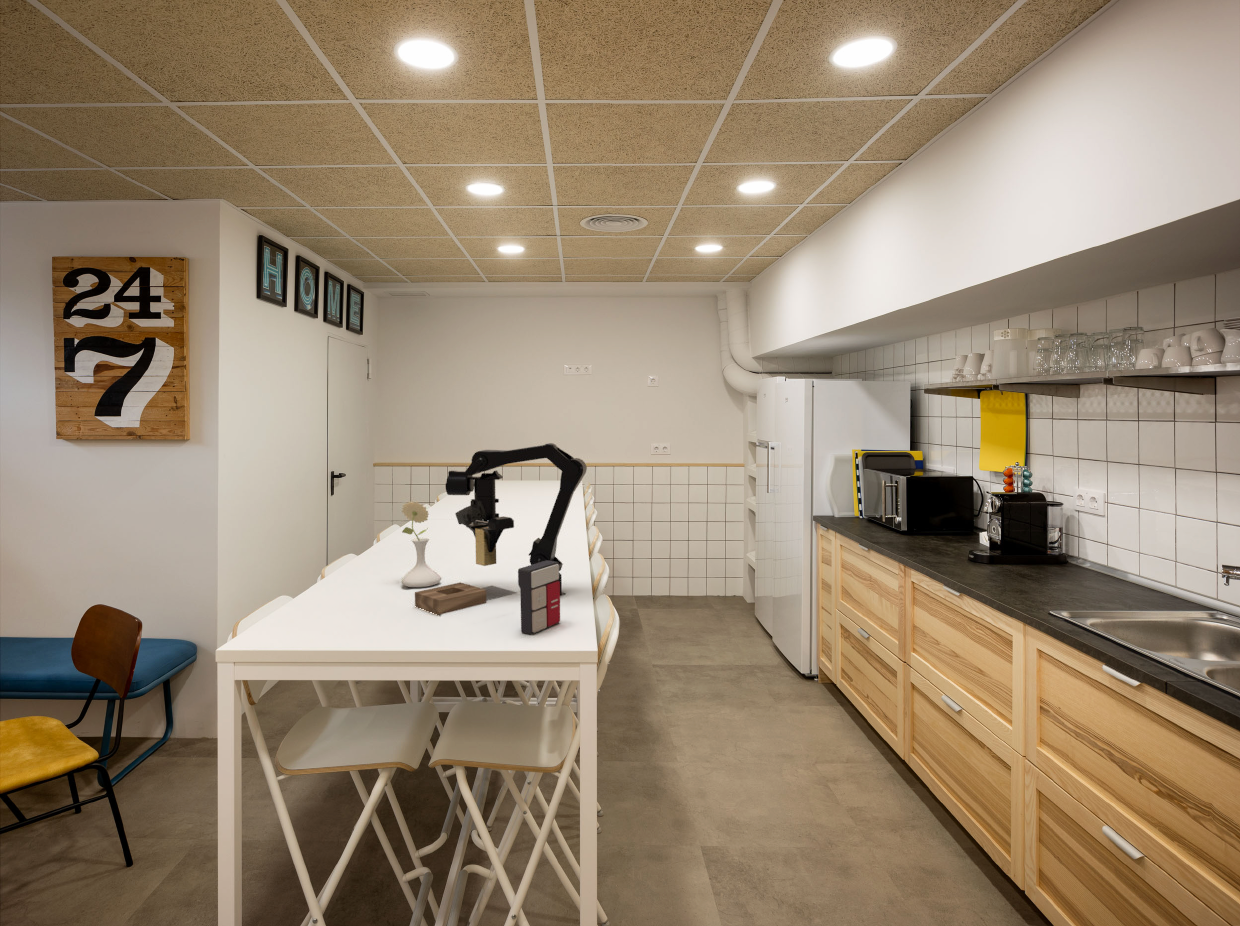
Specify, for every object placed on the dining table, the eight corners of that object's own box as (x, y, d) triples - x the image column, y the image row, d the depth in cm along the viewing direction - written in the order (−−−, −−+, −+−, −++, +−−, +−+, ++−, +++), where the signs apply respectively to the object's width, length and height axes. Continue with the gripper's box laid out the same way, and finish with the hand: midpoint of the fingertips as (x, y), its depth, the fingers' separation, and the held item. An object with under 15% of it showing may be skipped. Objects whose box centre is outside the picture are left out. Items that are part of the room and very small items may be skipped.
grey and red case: (533, 635, 156) (532, 570, 155) (518, 632, 158) (517, 568, 157) (562, 623, 165) (561, 561, 164) (548, 620, 168) (547, 559, 167)
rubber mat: (517, 594, 192) (517, 592, 192) (482, 603, 183) (481, 601, 183) (492, 587, 200) (492, 585, 200) (456, 595, 192) (456, 593, 191)
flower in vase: (449, 584, 204) (447, 500, 203) (419, 592, 195) (417, 505, 193) (419, 578, 211) (417, 498, 210) (389, 586, 202) (386, 502, 200)
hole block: (486, 604, 182) (486, 589, 182) (440, 616, 172) (439, 600, 172) (460, 596, 190) (460, 582, 190) (415, 607, 180) (414, 592, 180)
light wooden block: (496, 563, 191) (495, 528, 190) (484, 566, 188) (483, 529, 188) (487, 561, 194) (487, 526, 193) (475, 563, 191) (475, 528, 190)
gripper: (441, 495, 190) (442, 550, 191) (480, 501, 177) (481, 560, 179) (474, 491, 198) (475, 545, 200) (514, 497, 186) (515, 554, 187)
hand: (485, 551), depth 191 cm, fingers closed on light wooden block, 4 cm apart
